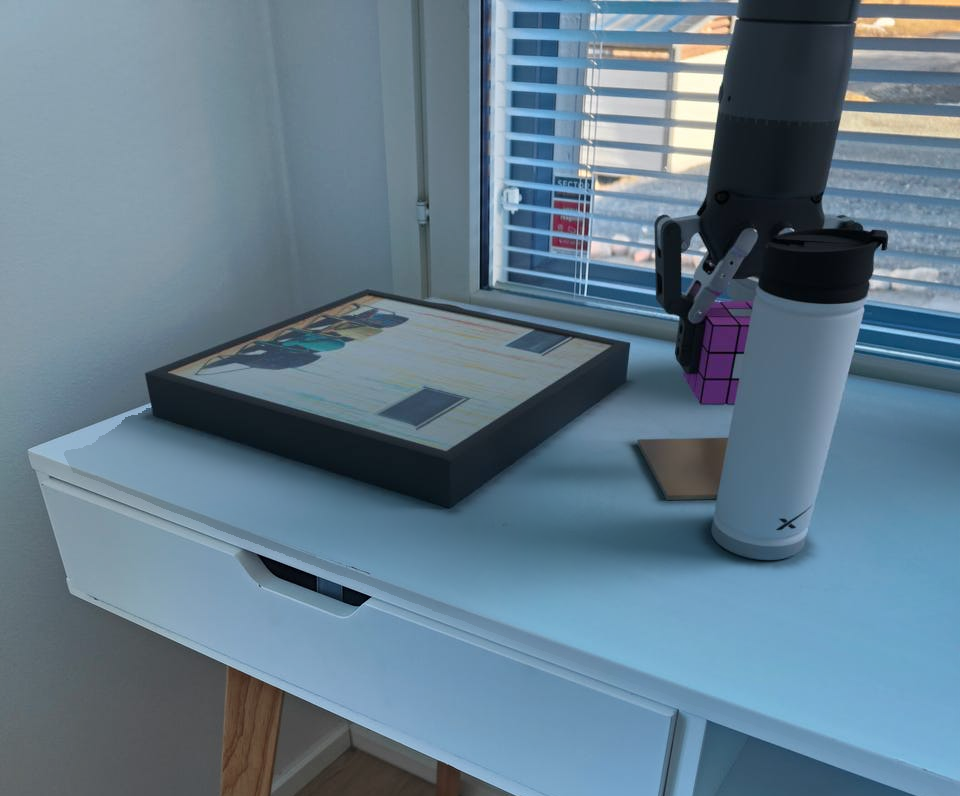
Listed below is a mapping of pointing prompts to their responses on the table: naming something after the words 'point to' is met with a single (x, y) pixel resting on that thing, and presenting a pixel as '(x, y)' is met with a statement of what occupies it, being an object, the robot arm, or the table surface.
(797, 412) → the travel mug
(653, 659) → the table surface
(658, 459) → the cork coaster
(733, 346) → the puzzle toy
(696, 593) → the table surface
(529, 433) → the framed picture
